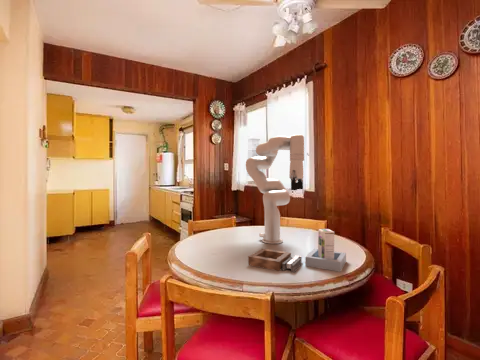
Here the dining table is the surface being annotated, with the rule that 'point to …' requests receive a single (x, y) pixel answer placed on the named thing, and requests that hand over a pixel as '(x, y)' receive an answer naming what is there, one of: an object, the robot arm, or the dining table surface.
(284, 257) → the socket block
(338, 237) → the dining table surface
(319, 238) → the syrup box
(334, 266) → the grey square tray
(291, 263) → the key
